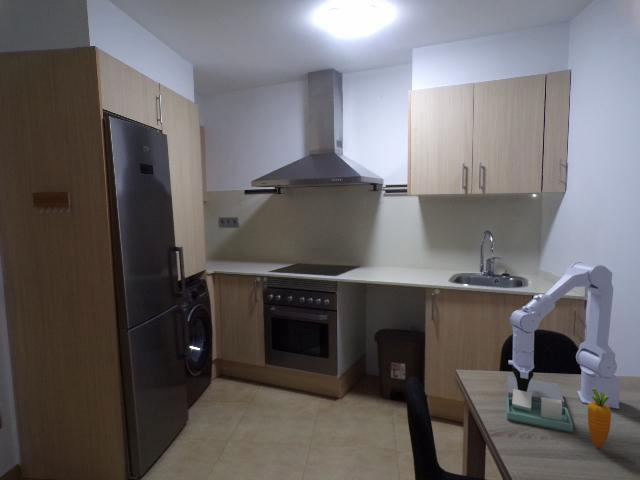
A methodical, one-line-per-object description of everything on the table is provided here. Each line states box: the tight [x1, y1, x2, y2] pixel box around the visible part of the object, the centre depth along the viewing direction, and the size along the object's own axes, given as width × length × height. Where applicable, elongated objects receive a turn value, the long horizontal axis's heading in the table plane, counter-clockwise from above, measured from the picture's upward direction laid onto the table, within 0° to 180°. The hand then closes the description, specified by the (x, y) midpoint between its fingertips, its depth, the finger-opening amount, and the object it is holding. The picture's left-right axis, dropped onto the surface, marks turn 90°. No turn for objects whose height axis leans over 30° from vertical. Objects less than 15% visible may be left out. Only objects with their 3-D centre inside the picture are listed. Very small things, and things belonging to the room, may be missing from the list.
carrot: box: [587, 388, 612, 449], centre depth 94 cm, size 5×5×15 cm
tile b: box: [512, 389, 532, 412], centre depth 113 cm, size 5×5×2 cm
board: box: [506, 375, 565, 407], centre depth 120 cm, size 15×13×4 cm
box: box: [505, 396, 574, 434], centre depth 108 cm, size 16×10×2 cm, turn 65°
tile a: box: [541, 397, 562, 421], centre depth 108 cm, size 5×5×2 cm
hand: (522, 391), depth 116 cm, fingers closed
